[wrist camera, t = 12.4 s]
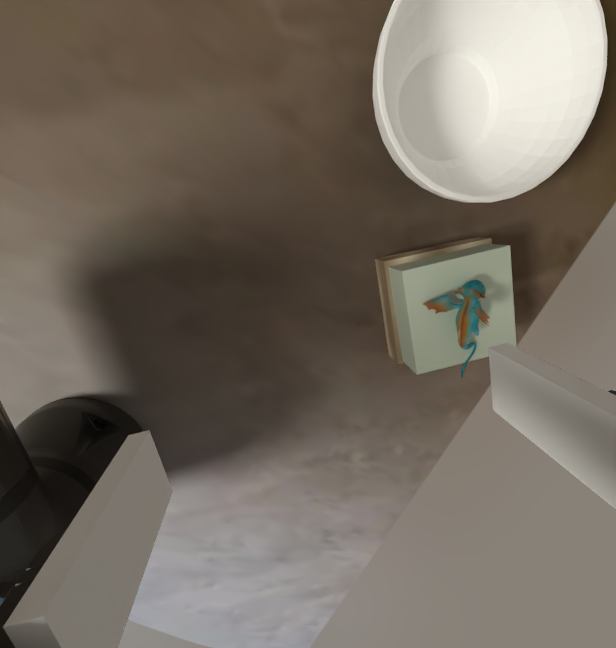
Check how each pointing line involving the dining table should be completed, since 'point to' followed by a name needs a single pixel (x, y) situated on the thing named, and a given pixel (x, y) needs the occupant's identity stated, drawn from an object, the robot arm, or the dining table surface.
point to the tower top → (442, 279)
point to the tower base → (386, 289)
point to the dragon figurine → (464, 312)
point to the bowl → (487, 91)
